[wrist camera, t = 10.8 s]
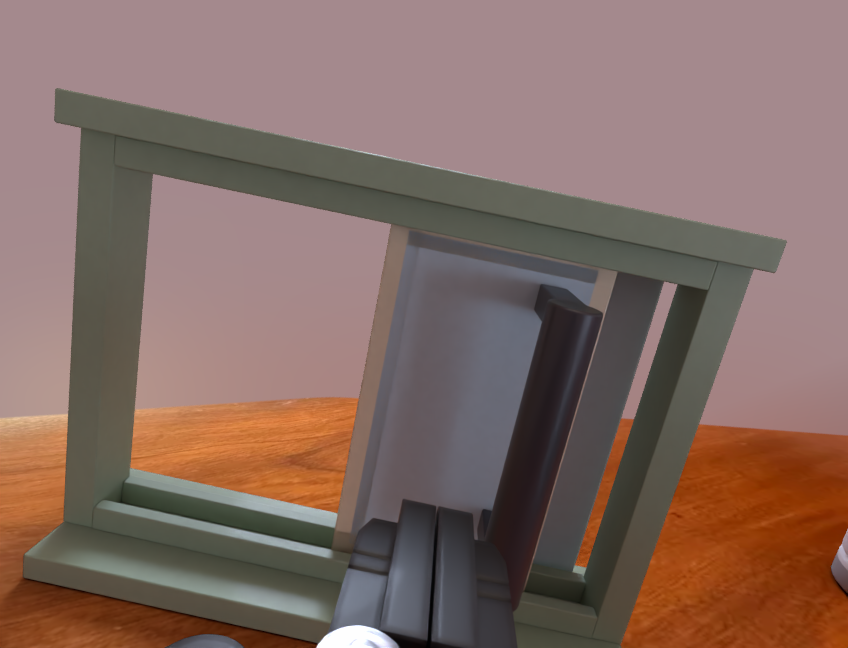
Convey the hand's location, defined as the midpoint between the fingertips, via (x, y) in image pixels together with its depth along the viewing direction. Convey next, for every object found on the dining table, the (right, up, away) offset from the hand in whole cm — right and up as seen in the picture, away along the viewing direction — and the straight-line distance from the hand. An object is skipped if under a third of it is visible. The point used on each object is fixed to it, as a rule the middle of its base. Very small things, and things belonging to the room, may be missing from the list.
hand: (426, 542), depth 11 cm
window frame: (-3, -6, +11) cm, 13 cm away
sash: (0, -6, +9) cm, 10 cm away
